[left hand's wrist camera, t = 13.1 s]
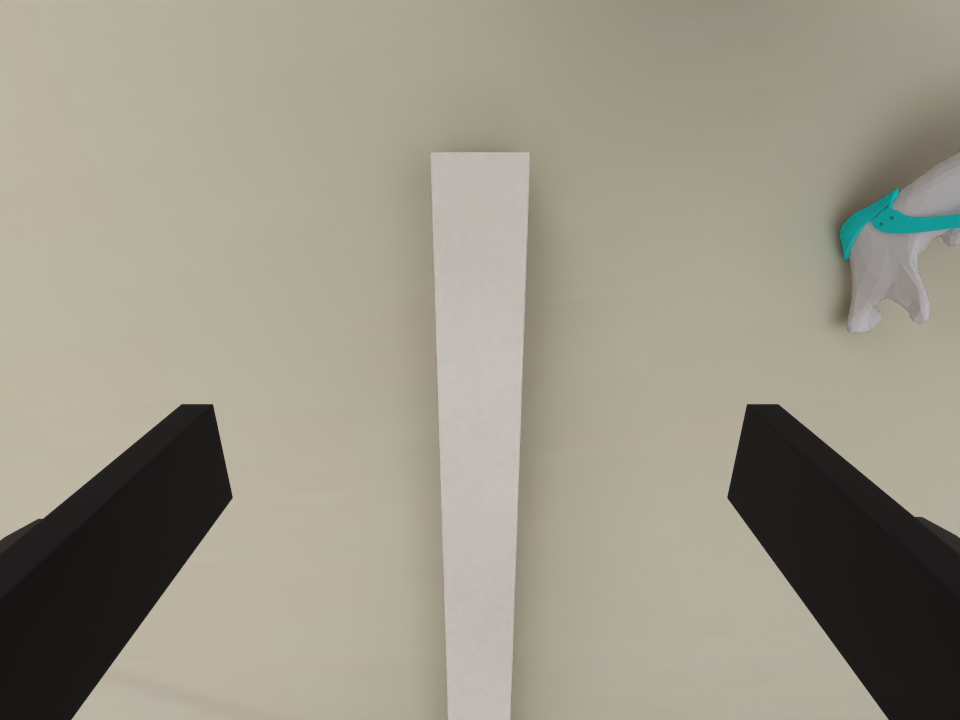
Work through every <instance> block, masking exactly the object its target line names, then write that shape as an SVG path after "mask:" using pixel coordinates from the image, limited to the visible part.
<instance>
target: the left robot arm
mask: <svg viewBox="0 0 960 720" xmlns="http://www.w3.org/2000/svg"><path fill="white" fill-rule="evenodd" d="M232 498H233V497H232V492H231V487H230V483H229V478H228V473H227V469H226V464H225V459H224V454H223V450H222V445H221V440H220V436H219V431H218V426H217V421H216V417H215V412H214V407H213V404H182V405H180V406H179V407H178V408H177V409H176V410H174V411H173V412H172V413H171V414H169V415H168V416H167V417H166V418H165V419H163V420H162V421H161V422H160V423H159V424H157V425H156V426H155V427H154V428H153V429H151V430H150V431H149V432H148V433H146V434H145V435H144V436H143V437H142V438H140V439H139V440H138V441H137V442H136V443H134V444H133V445H132V446H131V447H130V448H128V449H127V450H126V451H125V452H123V453H122V454H121V455H120V456H119V457H117V458H116V459H115V460H114V461H113V462H111V463H110V464H109V465H108V466H107V467H105V468H104V469H103V470H102V471H101V472H99V473H98V474H97V475H96V476H94V477H93V478H92V479H91V480H90V481H88V482H87V483H86V484H85V485H84V486H82V487H81V488H80V489H79V490H78V491H76V492H75V493H74V494H73V495H71V496H70V497H69V498H68V499H67V500H65V501H64V502H63V503H62V504H61V505H59V506H58V507H57V508H56V509H55V510H53V511H52V512H51V513H50V514H48V515H47V516H46V517H45V518H44V519H37V520H36V521H34V522H32V523H30V524H28V525H26V526H25V527H23V528H21V529H19V530H17V531H15V532H14V533H12V534H10V535H8V536H6V537H4V538H3V539H2V540H1V541H0V720H71V719H72V718H73V717H74V715H75V714H76V712H77V711H78V710H79V708H80V707H81V706H82V704H83V703H84V701H85V700H86V699H87V697H88V696H89V695H90V693H91V692H92V690H93V689H94V688H95V686H96V685H97V684H98V682H99V681H100V679H101V678H102V677H103V675H104V674H105V673H106V671H107V670H108V668H109V667H110V666H111V664H112V663H113V662H114V660H115V659H116V657H117V656H118V655H119V653H120V652H121V651H122V649H123V648H124V646H125V645H126V644H127V642H128V641H129V640H130V638H131V637H132V635H133V634H134V633H135V631H136V630H137V629H138V627H139V626H140V624H141V623H142V622H143V620H144V619H145V618H146V616H147V615H148V613H149V612H150V611H151V609H152V608H153V607H154V605H155V604H156V602H157V601H158V600H159V598H160V597H161V596H162V594H163V593H164V591H165V590H166V589H167V587H168V586H169V585H170V583H171V582H172V580H173V579H174V578H175V576H176V575H177V574H178V572H179V571H180V569H181V568H182V567H183V565H184V564H185V563H186V561H187V560H188V558H189V557H190V556H191V554H192V553H193V552H194V550H195V549H196V548H197V546H198V545H199V543H200V542H201V541H202V539H203V538H204V537H205V535H206V534H207V532H208V531H209V530H210V528H211V527H212V526H213V524H214V523H215V521H216V520H217V519H218V517H219V516H220V515H221V513H222V512H223V510H224V509H225V508H226V506H227V505H228V504H229V502H230V501H231V499H232ZM727 498H728V499H729V501H730V502H731V504H732V505H733V506H734V508H735V509H736V510H737V512H738V513H739V515H740V516H741V517H742V519H743V520H744V521H745V523H746V524H747V526H748V527H749V528H750V530H751V531H752V532H753V534H754V535H755V537H756V538H757V539H758V541H759V542H760V543H761V545H762V546H763V548H764V549H765V550H766V552H767V553H768V554H769V556H770V557H771V558H772V560H773V561H774V563H775V564H776V565H777V567H778V568H779V569H780V571H781V572H782V574H783V575H784V576H785V578H786V579H787V580H788V582H789V583H790V585H791V586H792V587H793V589H794V590H795V591H796V593H797V594H798V596H799V597H800V598H801V600H802V601H803V602H804V604H805V605H806V607H807V608H808V609H809V611H810V612H811V613H812V615H813V616H814V618H815V619H816V620H817V622H818V623H819V624H820V626H821V627H822V629H823V630H824V631H825V633H826V634H827V635H828V637H829V638H830V640H831V641H832V642H833V644H834V645H835V646H836V648H837V649H838V651H839V652H840V653H841V655H842V656H843V657H844V659H845V660H846V662H847V663H848V664H849V666H850V667H851V668H852V670H853V671H854V673H855V674H856V675H857V677H858V678H859V679H860V681H861V682H862V684H863V685H864V686H865V688H866V689H867V690H868V692H869V693H870V695H871V696H872V697H873V699H874V700H875V701H876V703H877V704H878V706H879V707H880V708H881V710H882V711H883V712H884V714H885V715H886V717H887V718H888V719H889V720H960V538H959V537H957V536H956V535H954V534H952V533H951V532H949V531H947V530H945V529H943V528H941V527H939V526H938V525H936V524H934V523H932V522H930V521H928V520H927V519H925V518H923V517H914V516H913V515H912V514H910V513H909V512H908V511H907V510H905V509H904V508H903V507H902V506H901V505H899V504H898V503H897V502H896V501H895V500H893V499H892V498H891V497H890V496H889V495H887V494H886V493H885V492H884V491H882V490H881V489H880V488H879V487H878V486H876V485H875V484H874V483H873V482H872V481H870V480H869V479H868V478H867V477H866V476H864V475H863V474H862V473H861V472H859V471H858V470H857V469H856V468H855V467H853V466H852V465H851V464H850V463H849V462H847V461H846V460H845V459H844V458H843V457H841V456H840V455H839V454H838V453H837V452H835V451H834V450H833V449H832V448H830V447H829V446H828V445H827V444H826V443H824V442H823V441H822V440H821V439H820V438H818V437H817V436H816V435H815V434H814V433H812V432H811V431H810V430H809V429H807V428H806V427H805V426H804V425H803V424H801V423H800V422H799V421H798V420H797V419H795V418H794V417H793V416H792V415H791V414H789V413H788V412H787V411H786V410H784V409H783V408H782V407H781V406H780V405H778V404H747V407H746V412H745V417H744V421H743V426H742V431H741V436H740V440H739V445H738V450H737V454H736V459H735V464H734V469H733V473H732V478H731V483H730V487H729V492H728V497H727Z"/></svg>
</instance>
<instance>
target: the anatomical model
mask: <svg viewBox="0 0 960 720" xmlns="http://www.w3.org/2000/svg"><path fill="white" fill-rule="evenodd" d="M940 235H941V237H942V239H943V241H944V242H945V243H946V244H947V245H948V246H955V245H960V152H958V153H956V154H954V155H953V156H951V157H949V158H948V159H946V160H944V161H942V162H941V163H939V164H937V165H936V166H934V167H933V168H932V169H930V170H929V171H927V172H926V173H925V174H923V175H922V176H921V177H919V178H918V179H916V180H915V181H914V182H912V183H911V184H909V185H908V186H907V187H905V188H904V189H903V190H901V191H900V192H899V190H898V188H897V189H895V190H894V191H892V192H891V193H889V194H888V195H886V196H885V197H883V198H882V199H880V200H879V201H877V202H875V203H873V204H872V205H870V206H868V207H866V208H864V209H862V210H859V211H857V212H855V213H854V214H853V215H852V216H851V217H850V218H849V219H847V221H846V222H845V223H844V224H843V226H842V228H841V230H840V240H841V243H842V250H843V256H844V260H847V259H850V265H851V273H852V299H851V306H850V310H849V315H848V319H847V329H848V332H849V333H864V332H869V331H871V330H872V329H873V328H874V327H875V326H876V325H877V324H878V323H879V322H880V321H881V320H882V313H881V311H880V310H879V309H877V308H876V307H875V306H874V305H875V304H876V303H877V302H878V301H880V300H882V299H884V298H889V299H891V300H892V301H894V302H896V303H898V304H900V305H901V306H902V307H904V308H905V309H906V310H907V311H908V312H909V316H910V318H911V320H912V321H913V322H915V323H916V324H920V323H924V322H926V321H927V319H928V318H929V316H930V304H929V298H928V295H927V292H926V289H925V287H924V284H923V282H922V280H921V278H920V275H919V270H918V257H919V254H920V253H921V252H922V251H923V250H924V249H925V248H927V246H928V245H929V244H930V243H931V242H932V241H933V240H934V239H936V238H937V237H939V236H940Z"/></svg>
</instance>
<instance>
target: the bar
mask: <svg viewBox="0 0 960 720" xmlns="http://www.w3.org/2000/svg"><path fill="white" fill-rule="evenodd" d="M530 156H531V154H530V152H431V153H430V164H431V196H432V228H433V260H434V292H435V324H436V356H437V388H438V420H439V452H440V484H441V516H442V548H443V580H444V612H445V644H446V676H447V708H448V720H511V694H512V665H513V637H514V609H515V581H516V552H517V524H518V496H519V467H520V439H521V411H522V382H523V354H524V326H525V298H526V269H527V241H528V213H529V184H530Z"/></svg>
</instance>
